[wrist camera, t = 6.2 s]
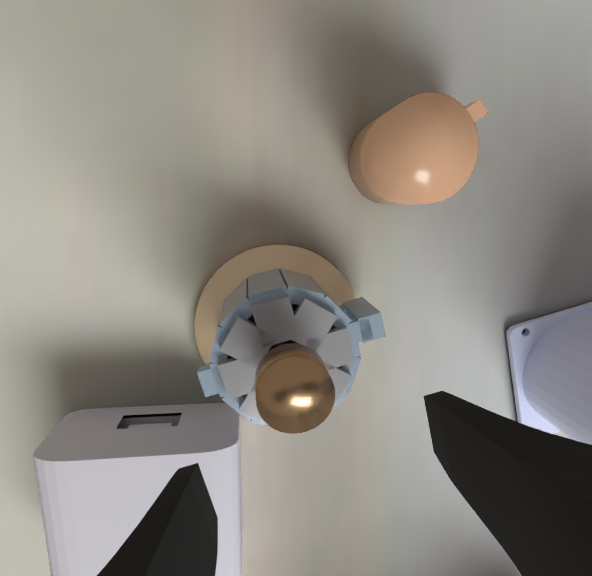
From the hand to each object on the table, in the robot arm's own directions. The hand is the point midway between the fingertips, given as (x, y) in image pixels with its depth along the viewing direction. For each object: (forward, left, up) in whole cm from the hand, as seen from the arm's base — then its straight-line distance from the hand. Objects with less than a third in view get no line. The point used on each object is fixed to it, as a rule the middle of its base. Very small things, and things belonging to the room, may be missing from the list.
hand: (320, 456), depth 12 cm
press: (0, -1, -10) cm, 10 cm away
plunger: (0, -1, -9) cm, 9 cm away
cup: (-8, -8, -10) cm, 15 cm away
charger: (+10, +9, -11) cm, 17 cm away
